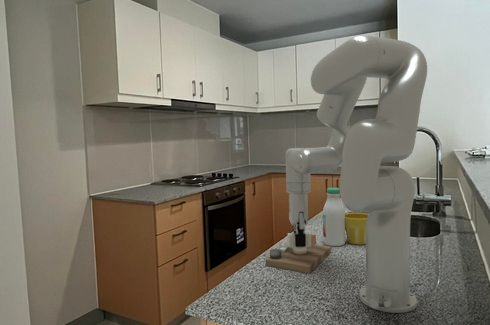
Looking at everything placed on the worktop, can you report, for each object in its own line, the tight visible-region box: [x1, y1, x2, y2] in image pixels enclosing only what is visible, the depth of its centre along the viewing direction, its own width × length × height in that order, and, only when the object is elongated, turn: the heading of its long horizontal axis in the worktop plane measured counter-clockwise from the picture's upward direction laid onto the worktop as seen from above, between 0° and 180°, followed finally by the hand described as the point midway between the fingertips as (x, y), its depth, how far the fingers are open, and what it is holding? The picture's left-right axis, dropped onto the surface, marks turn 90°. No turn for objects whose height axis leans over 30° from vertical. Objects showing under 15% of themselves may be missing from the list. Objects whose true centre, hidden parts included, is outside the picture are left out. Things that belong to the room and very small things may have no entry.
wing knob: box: [287, 231, 317, 255], centre depth 112 cm, size 9×4×6 cm, turn 93°
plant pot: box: [345, 212, 369, 246], centre depth 127 cm, size 10×10×10 cm
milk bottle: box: [322, 187, 346, 247], centre depth 126 cm, size 8×8×20 cm
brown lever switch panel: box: [265, 243, 332, 274], centre depth 112 cm, size 20×14×4 cm
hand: (299, 244), depth 112 cm, fingers closed on wing knob, 2 cm apart
